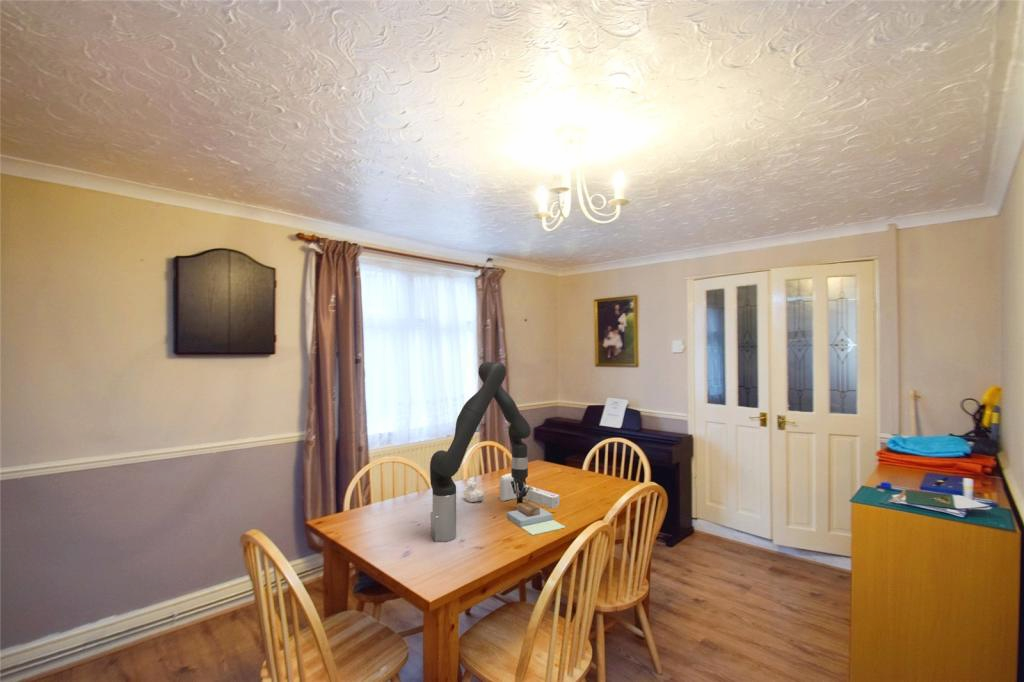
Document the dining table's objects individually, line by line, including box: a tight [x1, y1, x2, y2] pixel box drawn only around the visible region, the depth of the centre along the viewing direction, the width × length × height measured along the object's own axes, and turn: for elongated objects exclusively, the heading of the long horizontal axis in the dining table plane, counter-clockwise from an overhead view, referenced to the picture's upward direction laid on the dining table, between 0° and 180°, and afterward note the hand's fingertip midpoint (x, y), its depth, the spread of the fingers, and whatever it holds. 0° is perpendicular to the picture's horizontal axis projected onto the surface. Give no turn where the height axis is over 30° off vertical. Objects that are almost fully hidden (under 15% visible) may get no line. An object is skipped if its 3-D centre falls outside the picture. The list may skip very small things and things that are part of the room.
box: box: [523, 484, 561, 509], centre depth 215 cm, size 27×5×6 cm, turn 44°
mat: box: [520, 519, 566, 536], centre depth 181 cm, size 16×9×1 cm, turn 119°
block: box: [516, 501, 540, 517], centre depth 192 cm, size 6×9×3 cm, turn 29°
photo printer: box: [499, 472, 517, 502], centre depth 218 cm, size 10×4×12 cm, turn 123°
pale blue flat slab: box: [506, 505, 554, 528], centre depth 191 cm, size 16×12×2 cm
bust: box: [462, 480, 485, 503], centre depth 214 cm, size 12×8×11 cm
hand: (519, 505), depth 198 cm, fingers closed
